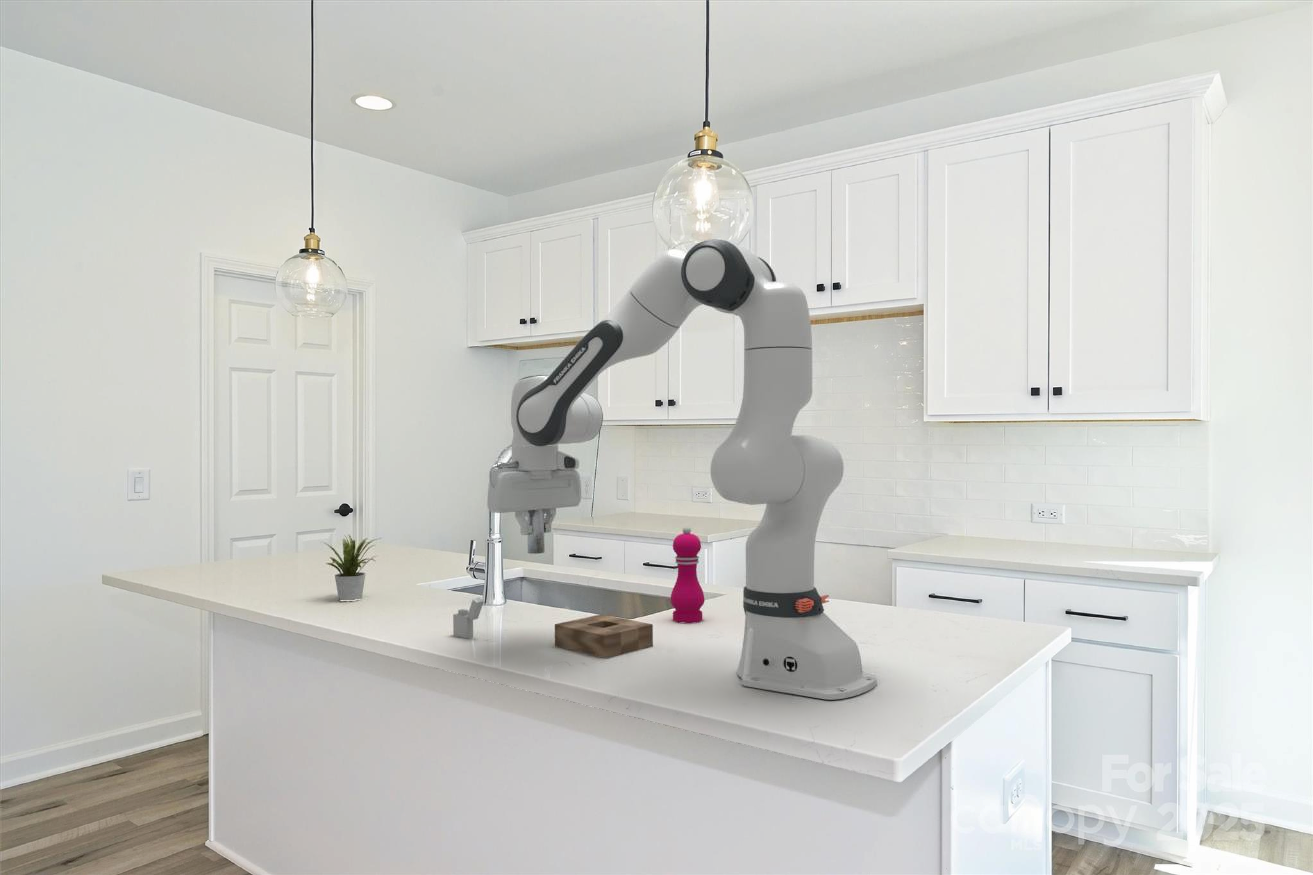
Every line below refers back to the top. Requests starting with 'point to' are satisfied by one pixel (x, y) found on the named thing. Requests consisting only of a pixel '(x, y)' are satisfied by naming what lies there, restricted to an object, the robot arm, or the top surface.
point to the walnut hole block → (603, 635)
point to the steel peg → (536, 531)
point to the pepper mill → (687, 579)
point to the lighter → (466, 619)
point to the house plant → (350, 570)
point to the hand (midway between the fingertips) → (536, 533)
